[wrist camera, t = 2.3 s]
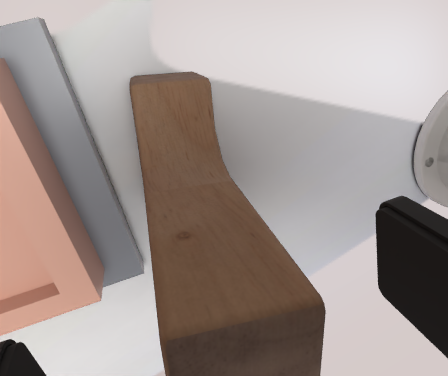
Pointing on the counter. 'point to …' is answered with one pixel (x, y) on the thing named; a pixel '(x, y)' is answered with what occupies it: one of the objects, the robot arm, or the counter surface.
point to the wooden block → (215, 249)
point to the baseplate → (71, 143)
